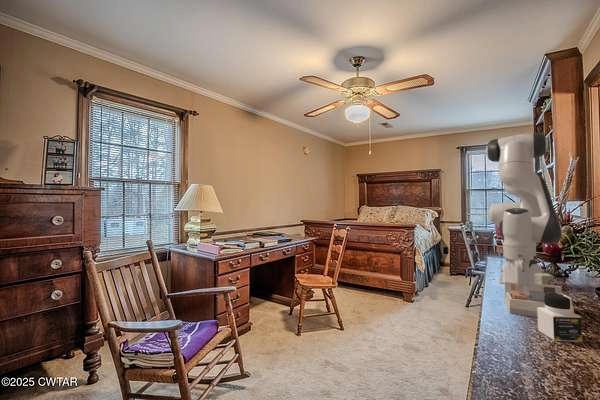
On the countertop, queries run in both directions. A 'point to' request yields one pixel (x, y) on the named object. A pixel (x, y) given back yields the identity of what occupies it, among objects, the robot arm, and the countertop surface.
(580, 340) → the medicine bottle
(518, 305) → the cream open box
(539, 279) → the skincare box
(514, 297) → the terracotta key
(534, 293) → the slate key
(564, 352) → the countertop surface
